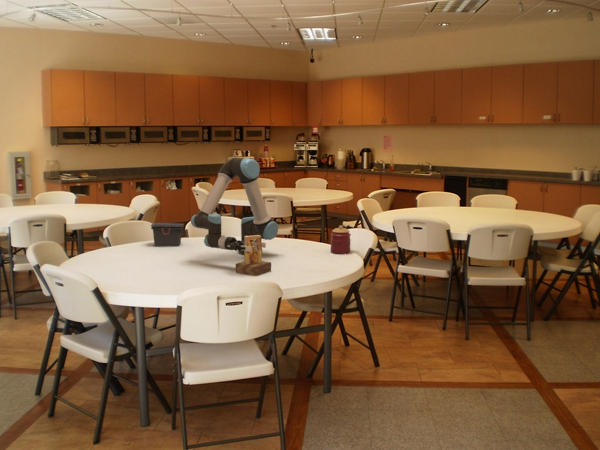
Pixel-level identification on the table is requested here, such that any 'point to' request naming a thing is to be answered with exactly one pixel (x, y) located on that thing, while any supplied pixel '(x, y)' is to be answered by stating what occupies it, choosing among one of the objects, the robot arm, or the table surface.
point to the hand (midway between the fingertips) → (258, 247)
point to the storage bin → (167, 234)
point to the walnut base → (253, 268)
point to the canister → (340, 241)
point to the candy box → (252, 249)
